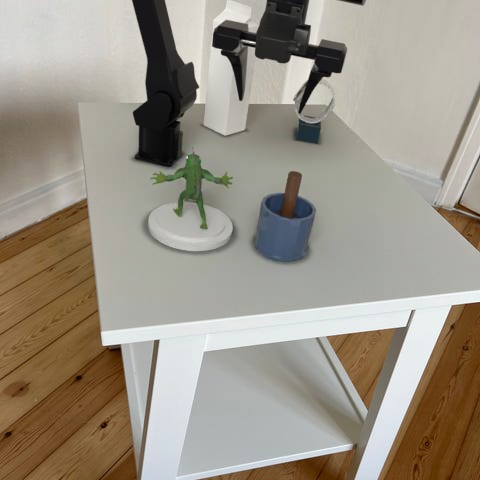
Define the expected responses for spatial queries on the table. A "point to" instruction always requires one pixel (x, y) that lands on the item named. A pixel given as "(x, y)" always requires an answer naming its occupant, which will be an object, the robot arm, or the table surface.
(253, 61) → the milk
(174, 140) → the robot arm
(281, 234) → the blue plastic cup
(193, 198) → the green frog figurine
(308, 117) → the watch
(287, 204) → the wooden peg on base
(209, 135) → the table surface
